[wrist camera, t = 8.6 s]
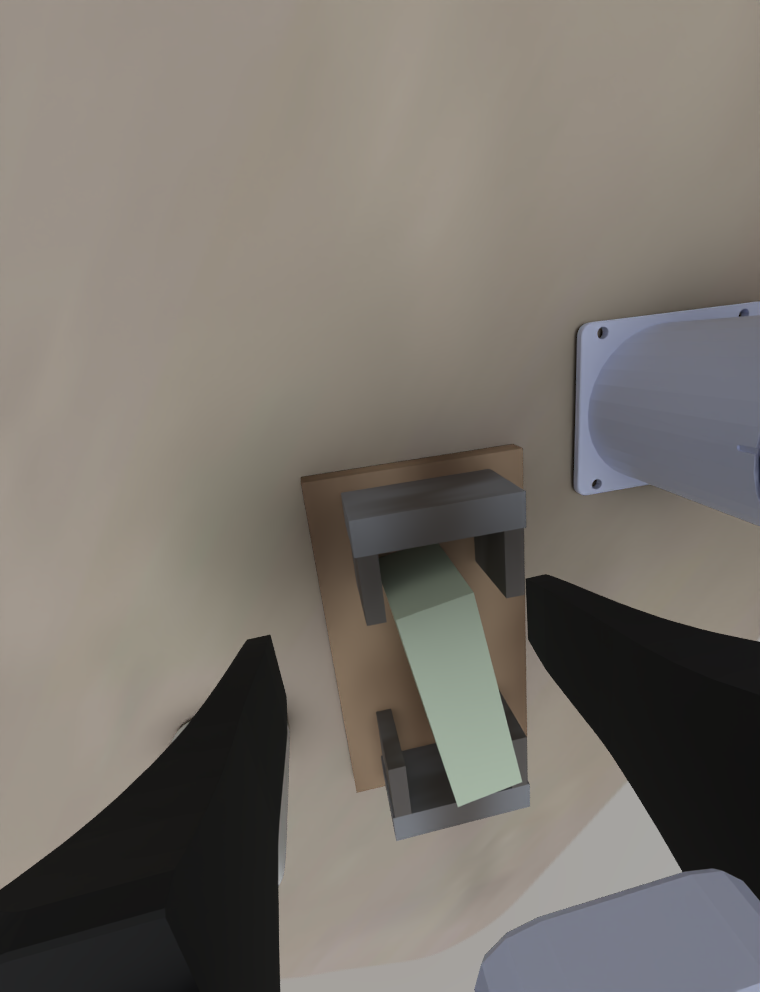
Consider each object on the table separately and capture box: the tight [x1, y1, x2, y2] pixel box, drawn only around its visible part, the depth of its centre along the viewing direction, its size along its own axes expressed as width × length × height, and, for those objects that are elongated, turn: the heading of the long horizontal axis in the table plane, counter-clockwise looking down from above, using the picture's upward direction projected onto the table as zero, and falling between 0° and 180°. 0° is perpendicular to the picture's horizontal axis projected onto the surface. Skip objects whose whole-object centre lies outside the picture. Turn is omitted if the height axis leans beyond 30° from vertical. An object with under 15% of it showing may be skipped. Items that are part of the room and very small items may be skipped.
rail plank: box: [379, 543, 522, 807], centre depth 20 cm, size 3×10×5 cm, turn 17°
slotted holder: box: [301, 444, 530, 841], centre depth 22 cm, size 10×18×4 cm, turn 7°
